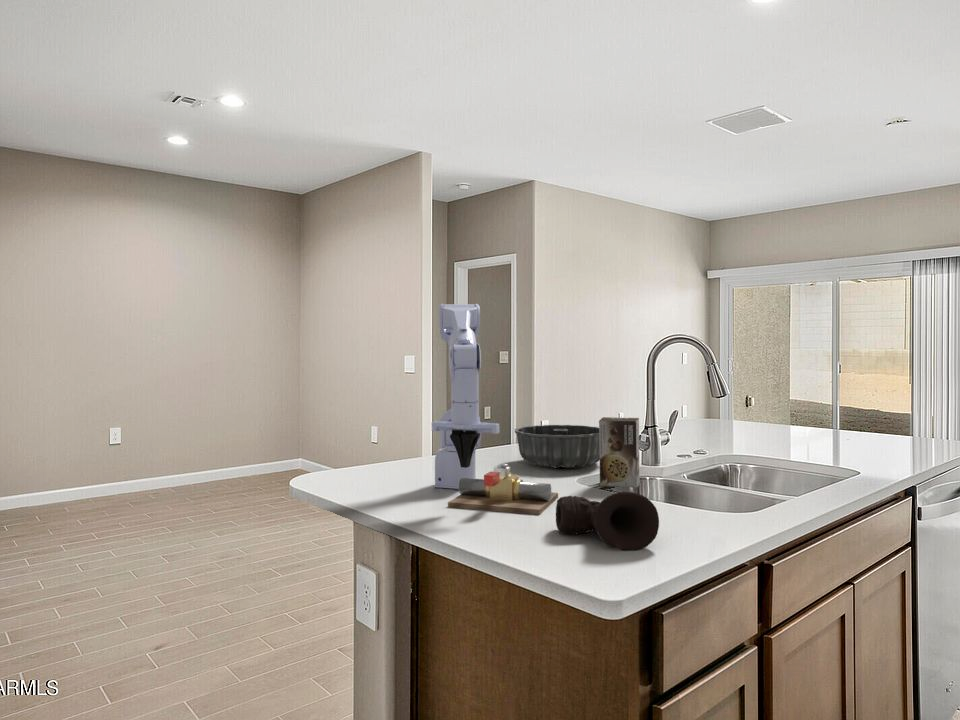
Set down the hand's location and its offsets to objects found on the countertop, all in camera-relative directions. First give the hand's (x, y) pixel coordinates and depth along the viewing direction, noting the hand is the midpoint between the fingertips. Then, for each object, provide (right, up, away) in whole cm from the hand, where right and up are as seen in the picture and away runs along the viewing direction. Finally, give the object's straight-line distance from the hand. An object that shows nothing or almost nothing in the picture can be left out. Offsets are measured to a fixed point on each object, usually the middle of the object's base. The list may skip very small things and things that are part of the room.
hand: (465, 466), depth 142 cm
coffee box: (+37, -8, +23) cm, 44 cm away
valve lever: (+7, -3, +1) cm, 8 cm away
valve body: (+8, -9, +6) cm, 13 cm away
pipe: (+25, -10, -21) cm, 34 cm away
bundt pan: (+26, -8, +51) cm, 58 cm away
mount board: (+8, -9, +6) cm, 13 cm away
